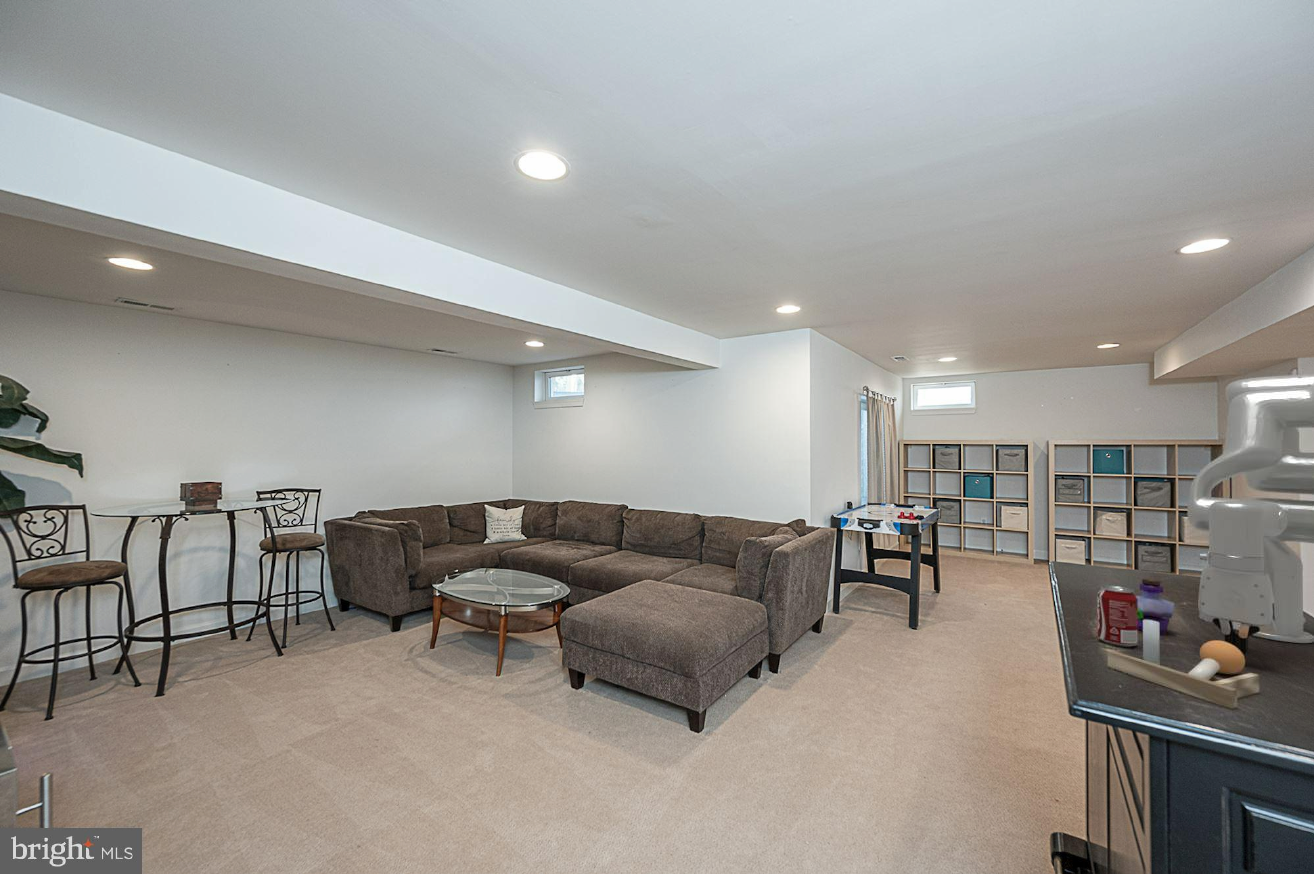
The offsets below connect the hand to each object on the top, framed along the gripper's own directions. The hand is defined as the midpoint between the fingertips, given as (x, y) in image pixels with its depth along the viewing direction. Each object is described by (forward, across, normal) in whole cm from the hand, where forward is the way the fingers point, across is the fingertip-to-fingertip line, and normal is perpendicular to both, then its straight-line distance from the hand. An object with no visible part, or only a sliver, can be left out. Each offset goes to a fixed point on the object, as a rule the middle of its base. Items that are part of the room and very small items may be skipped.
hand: (1236, 654), depth 109 cm
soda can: (+2, -17, -8) cm, 18 cm away
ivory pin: (-1, 0, -15) cm, 15 cm away
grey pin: (+2, -8, -17) cm, 19 cm away
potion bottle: (+2, -16, +10) cm, 20 cm away
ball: (-2, 0, -10) cm, 10 cm away
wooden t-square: (+2, -2, -21) cm, 21 cm away
